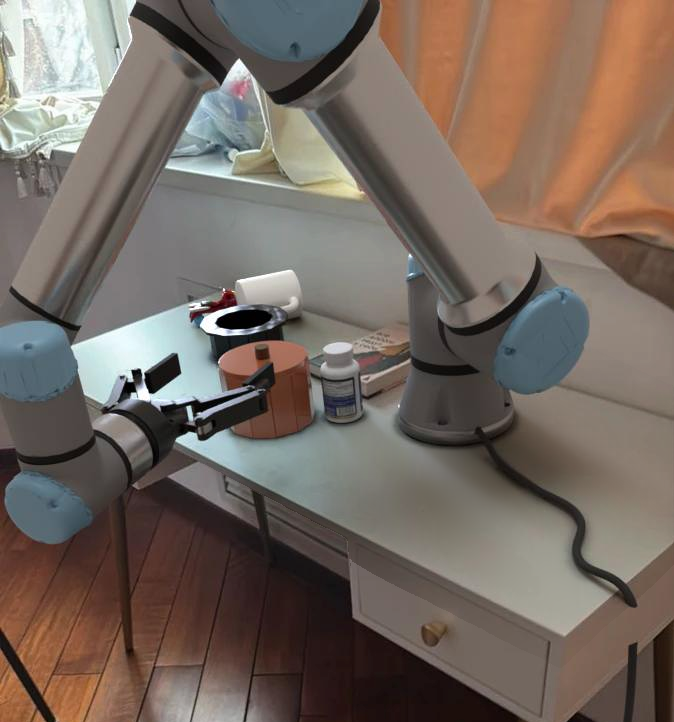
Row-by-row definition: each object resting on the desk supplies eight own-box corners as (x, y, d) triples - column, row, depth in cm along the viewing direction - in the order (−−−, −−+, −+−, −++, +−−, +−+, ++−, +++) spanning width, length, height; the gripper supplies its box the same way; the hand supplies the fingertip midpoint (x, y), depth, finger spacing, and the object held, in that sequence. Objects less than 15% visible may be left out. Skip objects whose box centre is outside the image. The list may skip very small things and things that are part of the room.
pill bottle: (339, 404, 122) (333, 337, 116) (370, 411, 119) (366, 343, 113) (317, 419, 118) (309, 351, 112) (349, 426, 116) (343, 357, 110)
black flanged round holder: (304, 355, 138) (300, 321, 134) (222, 376, 134) (216, 342, 130) (273, 330, 148) (268, 298, 145) (196, 348, 144) (190, 316, 141)
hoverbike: (258, 321, 152) (254, 289, 149) (192, 331, 151) (186, 300, 147) (254, 312, 156) (250, 281, 153) (190, 322, 155) (184, 291, 151)
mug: (239, 320, 153) (232, 275, 149) (290, 309, 156) (285, 264, 151) (258, 341, 144) (251, 294, 140) (313, 329, 147) (308, 282, 142)
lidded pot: (327, 423, 117) (320, 349, 111) (246, 446, 114) (233, 371, 107) (294, 393, 126) (285, 323, 120) (218, 414, 122) (205, 343, 116)
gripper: (43, 460, 97) (146, 386, 113) (232, 490, 88) (316, 406, 104) (23, 399, 93) (133, 331, 108) (221, 424, 84) (310, 346, 99)
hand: (223, 367), depth 106 cm, fingers open, 13 cm apart
